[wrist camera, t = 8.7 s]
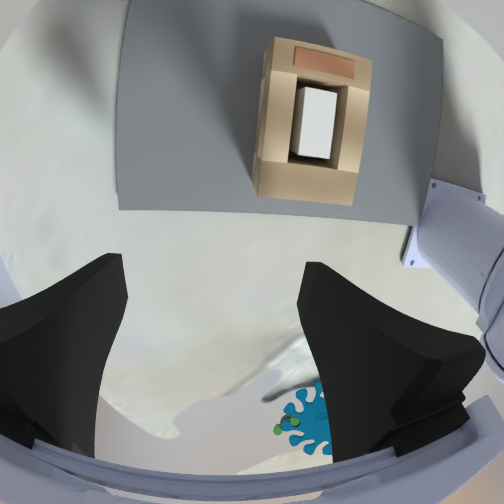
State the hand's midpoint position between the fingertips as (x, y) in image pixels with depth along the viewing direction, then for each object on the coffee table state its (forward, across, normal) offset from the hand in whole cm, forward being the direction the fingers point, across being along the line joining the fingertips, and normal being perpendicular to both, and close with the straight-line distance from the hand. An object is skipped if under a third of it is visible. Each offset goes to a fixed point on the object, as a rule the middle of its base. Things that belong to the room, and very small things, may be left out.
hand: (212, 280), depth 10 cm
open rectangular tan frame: (+8, -4, -6) cm, 11 cm away
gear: (+9, -12, +23) cm, 27 cm away
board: (+8, -4, -8) cm, 13 cm away
